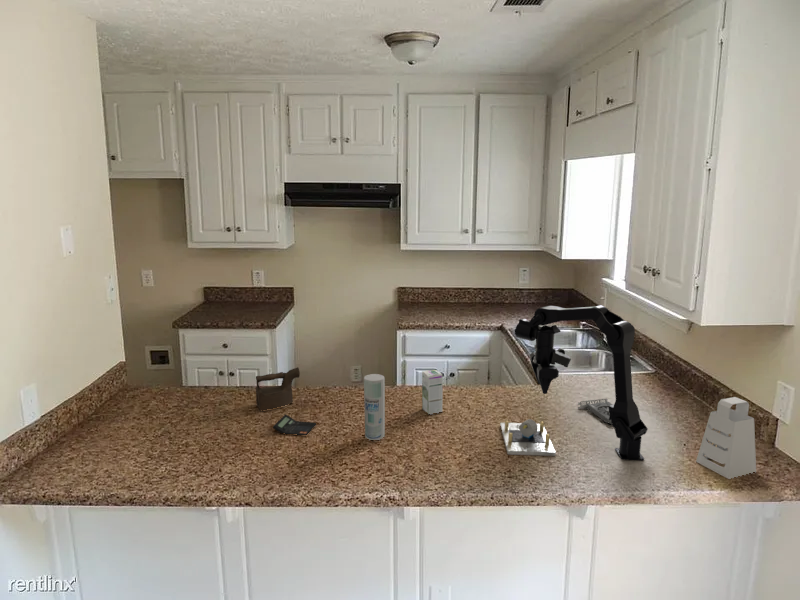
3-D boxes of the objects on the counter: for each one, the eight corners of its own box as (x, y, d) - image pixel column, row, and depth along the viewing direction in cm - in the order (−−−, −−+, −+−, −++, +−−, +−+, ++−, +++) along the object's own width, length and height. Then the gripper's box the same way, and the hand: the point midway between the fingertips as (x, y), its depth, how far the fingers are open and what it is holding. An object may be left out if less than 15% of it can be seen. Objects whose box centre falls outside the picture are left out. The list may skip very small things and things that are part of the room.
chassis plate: (555, 455, 159) (556, 442, 158) (507, 454, 160) (508, 441, 159) (542, 427, 178) (543, 415, 177) (500, 425, 179) (500, 414, 178)
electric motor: (513, 436, 169) (514, 421, 168) (521, 431, 172) (521, 416, 171) (533, 442, 164) (534, 427, 163) (540, 437, 168) (541, 422, 167)
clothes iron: (302, 405, 197) (301, 370, 194) (258, 412, 191) (256, 376, 188) (297, 398, 204) (296, 364, 201) (255, 404, 198) (253, 369, 195)
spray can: (387, 433, 174) (387, 374, 170) (381, 442, 167) (380, 381, 164) (368, 431, 175) (367, 373, 171) (361, 439, 169) (360, 379, 165)
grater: (695, 461, 155) (703, 396, 151) (722, 455, 159) (730, 391, 155) (729, 479, 146) (738, 410, 142) (756, 472, 149) (765, 404, 145)
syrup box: (443, 412, 190) (443, 373, 187) (427, 415, 188) (428, 375, 185) (436, 406, 195) (436, 368, 192) (421, 409, 193) (421, 370, 190)
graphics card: (576, 400, 193) (606, 397, 196) (576, 410, 194) (606, 406, 197) (602, 419, 177) (635, 416, 180) (602, 430, 178) (634, 426, 180)
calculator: (306, 437, 172) (306, 428, 171) (272, 434, 174) (272, 425, 173) (316, 425, 181) (316, 416, 180) (284, 422, 183) (284, 414, 182)
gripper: (576, 352, 167) (573, 399, 170) (563, 337, 185) (560, 379, 188) (540, 352, 168) (537, 398, 171) (530, 336, 186) (528, 379, 189)
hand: (542, 388), depth 180 cm, fingers open, 9 cm apart
